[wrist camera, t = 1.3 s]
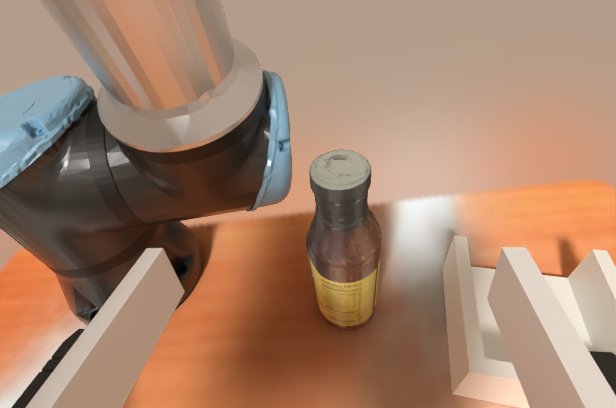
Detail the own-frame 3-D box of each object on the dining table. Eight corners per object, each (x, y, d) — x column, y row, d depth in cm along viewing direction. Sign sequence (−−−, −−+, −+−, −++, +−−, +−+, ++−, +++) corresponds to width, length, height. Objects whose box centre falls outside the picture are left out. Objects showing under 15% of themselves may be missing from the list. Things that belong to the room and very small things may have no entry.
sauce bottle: (337, 271, 39) (329, 125, 25) (385, 297, 36) (409, 149, 22) (305, 315, 35) (274, 175, 21) (356, 348, 32) (360, 211, 18)
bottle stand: (631, 429, 26) (687, 411, 22) (452, 394, 29) (469, 371, 25) (575, 284, 35) (607, 250, 31) (442, 268, 38) (454, 235, 33)
